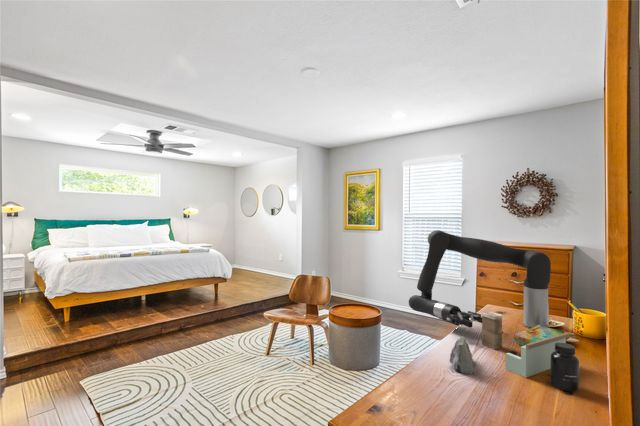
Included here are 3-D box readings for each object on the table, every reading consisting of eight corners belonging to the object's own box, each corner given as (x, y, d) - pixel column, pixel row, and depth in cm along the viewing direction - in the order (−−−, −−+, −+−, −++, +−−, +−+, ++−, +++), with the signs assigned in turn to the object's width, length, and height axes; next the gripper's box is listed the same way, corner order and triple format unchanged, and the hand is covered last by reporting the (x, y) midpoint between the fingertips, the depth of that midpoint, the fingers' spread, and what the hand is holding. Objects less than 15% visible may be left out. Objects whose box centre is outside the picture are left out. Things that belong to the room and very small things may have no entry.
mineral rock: (459, 355, 120) (460, 326, 120) (490, 366, 111) (490, 335, 111) (438, 365, 112) (438, 334, 112) (469, 377, 104) (469, 345, 104)
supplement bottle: (571, 394, 94) (571, 351, 94) (545, 383, 100) (545, 343, 100) (584, 389, 97) (584, 347, 97) (558, 378, 103) (558, 339, 103)
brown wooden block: (489, 342, 131) (489, 311, 131) (502, 347, 127) (502, 315, 127) (481, 344, 129) (481, 313, 129) (494, 349, 125) (494, 316, 125)
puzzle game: (514, 332, 130) (538, 323, 141) (514, 344, 130) (538, 334, 141) (548, 342, 120) (571, 331, 131) (548, 355, 120) (571, 343, 132)
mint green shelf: (540, 354, 121) (541, 325, 121) (568, 364, 113) (568, 333, 113) (501, 366, 111) (501, 335, 111) (528, 378, 103) (528, 345, 103)
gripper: (434, 305, 144) (466, 316, 129) (458, 301, 150) (491, 311, 136) (434, 323, 144) (466, 335, 129) (458, 318, 150) (491, 330, 136)
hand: (479, 323), depth 133 cm, fingers open, 8 cm apart
